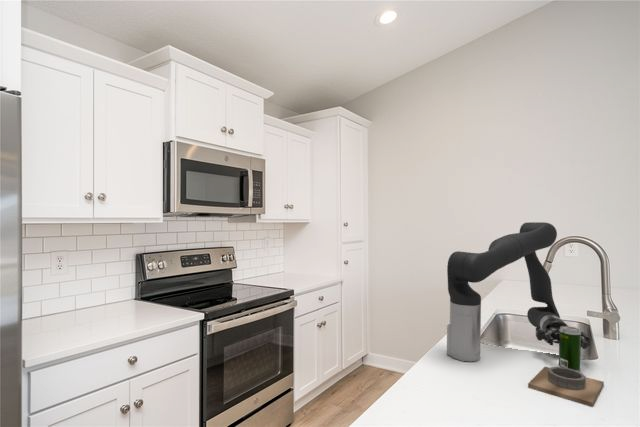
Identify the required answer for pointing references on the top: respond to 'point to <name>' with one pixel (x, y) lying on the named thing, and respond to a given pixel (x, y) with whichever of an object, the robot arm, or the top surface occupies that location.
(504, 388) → the top surface
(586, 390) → the can holder
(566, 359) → the beer can
